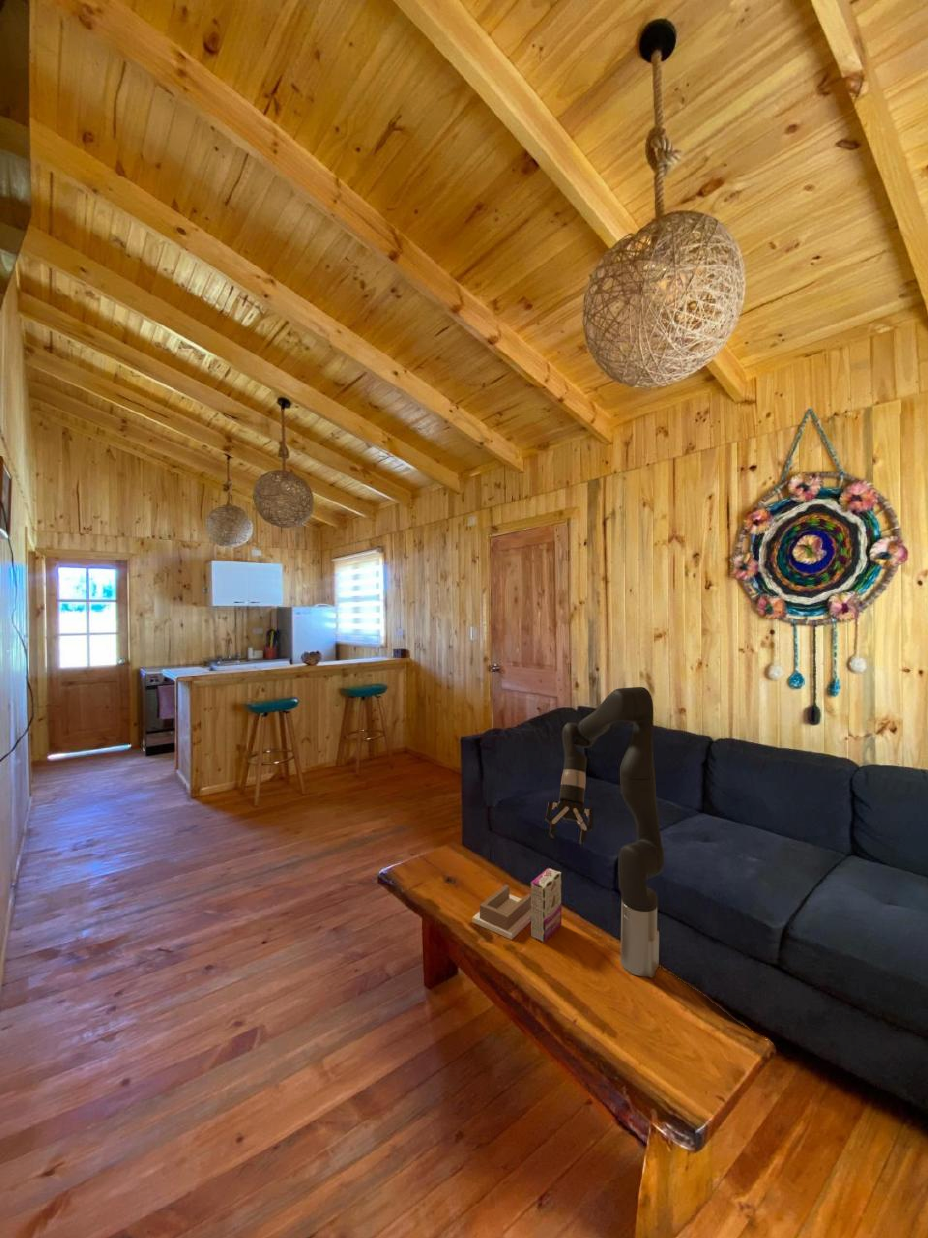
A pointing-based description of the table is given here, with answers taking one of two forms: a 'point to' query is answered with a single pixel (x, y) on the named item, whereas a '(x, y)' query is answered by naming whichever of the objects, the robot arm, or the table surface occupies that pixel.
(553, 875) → the candy bar box
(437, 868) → the table surface
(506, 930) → the slot stand
